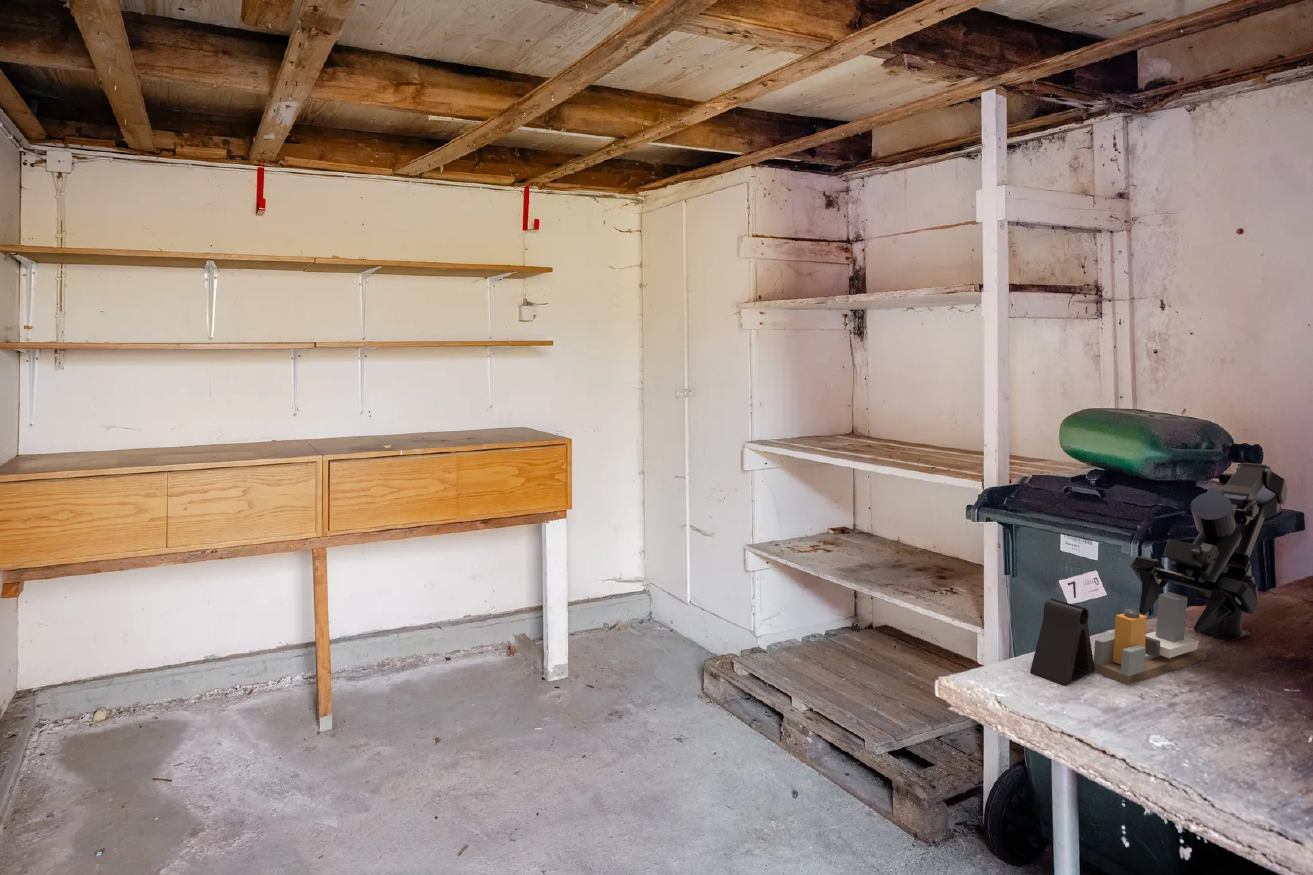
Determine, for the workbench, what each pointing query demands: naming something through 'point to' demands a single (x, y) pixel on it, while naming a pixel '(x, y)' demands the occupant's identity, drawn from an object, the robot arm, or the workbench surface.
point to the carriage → (1170, 628)
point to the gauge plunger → (1128, 632)
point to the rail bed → (1151, 666)
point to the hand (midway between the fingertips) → (1167, 622)
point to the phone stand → (1063, 644)
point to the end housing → (1130, 656)
